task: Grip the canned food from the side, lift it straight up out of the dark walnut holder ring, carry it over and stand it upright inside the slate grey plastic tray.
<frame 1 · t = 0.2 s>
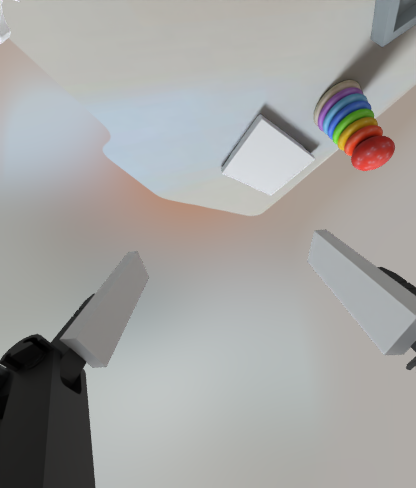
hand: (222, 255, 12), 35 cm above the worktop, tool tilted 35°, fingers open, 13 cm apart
food packaging: (264, 158, 45), on the worktop
stacking toy: (333, 103, 34), on the worktop
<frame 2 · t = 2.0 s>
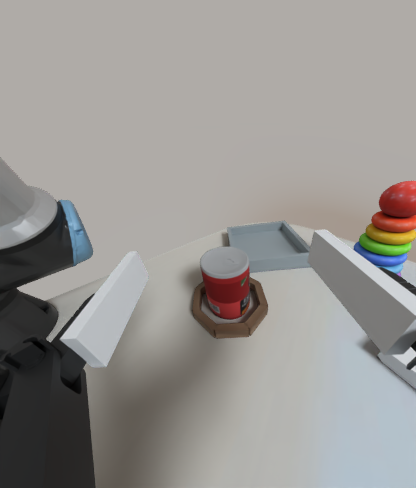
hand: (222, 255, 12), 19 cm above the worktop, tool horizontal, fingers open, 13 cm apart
canned food: (228, 303, 32), resting in holder ring
tray: (262, 249, 45), on the worktop
holder ring: (228, 302, 32), on the worktop
stacking toy: (363, 280, 32), on the worktop
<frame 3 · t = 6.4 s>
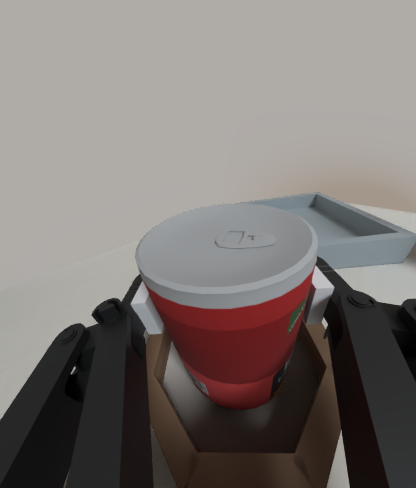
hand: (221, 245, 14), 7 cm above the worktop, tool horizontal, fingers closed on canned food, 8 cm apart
canned food: (233, 349, 13), resting in holder ring, touching gripper
tray: (288, 234, 27), on the worktop
holder ring: (233, 347, 13), on the worktop
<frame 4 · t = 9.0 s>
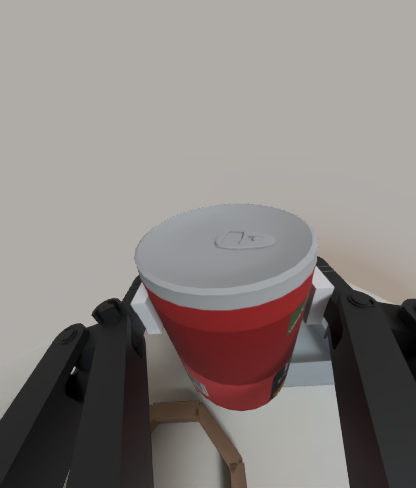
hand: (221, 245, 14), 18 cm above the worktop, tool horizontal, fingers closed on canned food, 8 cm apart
canned food: (233, 349, 13), point 11 cm above the worktop, touching gripper
tray: (253, 318, 27), on the worktop
when the fingers open (9 cm above the worktop, at t = 11.9 s): canned food stays where it is, resting on tray.
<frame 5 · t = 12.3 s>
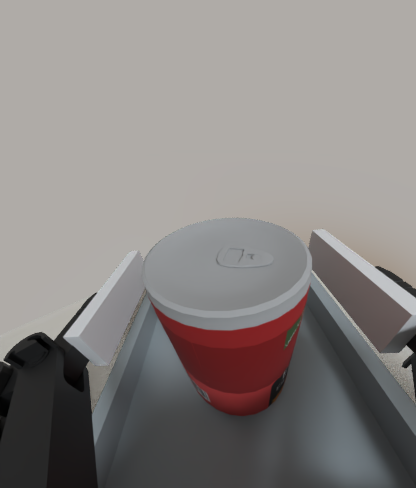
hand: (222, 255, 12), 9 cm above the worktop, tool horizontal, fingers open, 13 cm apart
canned food: (234, 355, 14), point 1 cm above the worktop, touching tray
tray: (235, 359, 14), on the worktop
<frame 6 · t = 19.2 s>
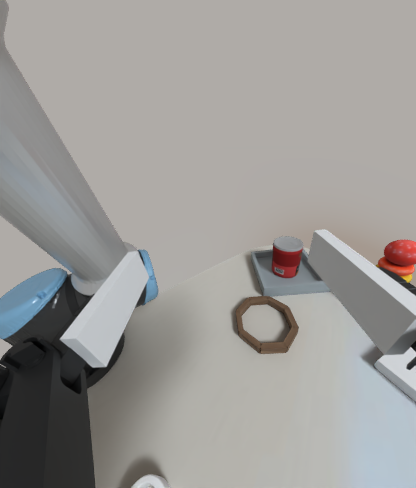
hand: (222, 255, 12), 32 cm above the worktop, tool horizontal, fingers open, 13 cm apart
canned food: (284, 271, 53), point 1 cm above the worktop, touching tray
tray: (284, 272, 53), on the worktop
holder ring: (264, 323, 40), on the worktop
stacking toy: (371, 305, 40), on the worktop
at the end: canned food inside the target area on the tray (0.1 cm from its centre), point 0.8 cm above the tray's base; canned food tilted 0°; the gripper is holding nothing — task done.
